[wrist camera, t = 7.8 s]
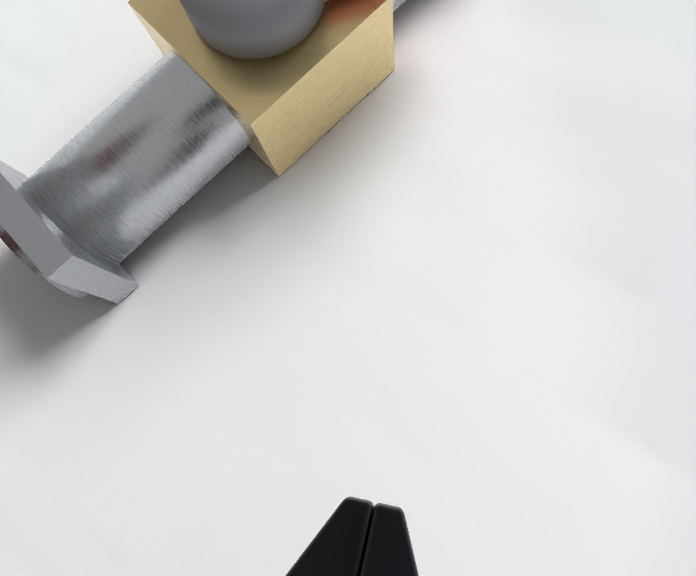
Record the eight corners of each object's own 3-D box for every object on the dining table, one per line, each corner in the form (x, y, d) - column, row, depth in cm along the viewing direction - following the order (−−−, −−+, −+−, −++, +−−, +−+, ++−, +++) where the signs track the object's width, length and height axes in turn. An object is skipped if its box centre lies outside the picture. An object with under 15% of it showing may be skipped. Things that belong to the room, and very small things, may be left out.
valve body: (118, 325, 23) (46, 304, 18) (21, 213, 24) (-70, 167, 19) (542, -68, 24) (576, -180, 20) (432, -157, 26) (439, -283, 21)
